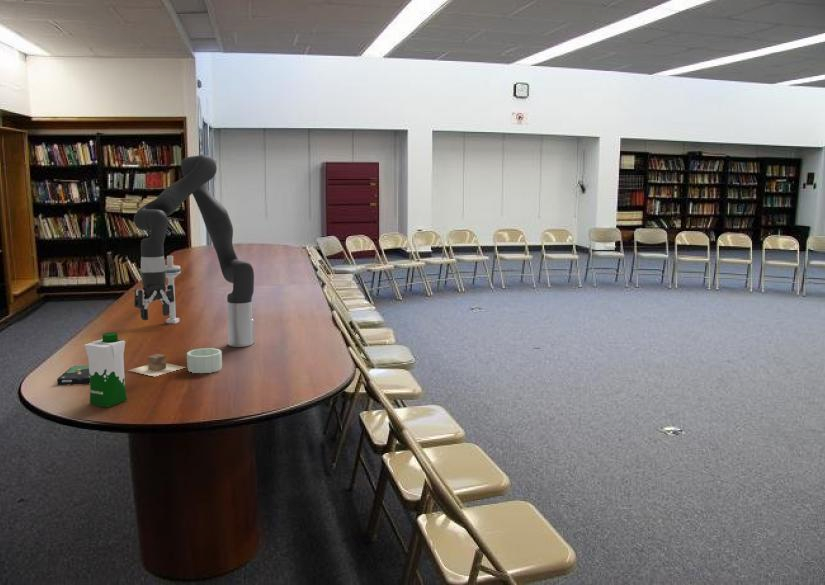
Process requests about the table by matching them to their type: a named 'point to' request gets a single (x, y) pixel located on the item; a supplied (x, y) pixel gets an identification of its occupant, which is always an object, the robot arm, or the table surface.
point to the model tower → (171, 274)
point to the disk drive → (75, 376)
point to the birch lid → (156, 366)
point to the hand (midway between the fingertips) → (155, 317)
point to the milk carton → (106, 370)
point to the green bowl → (204, 360)
